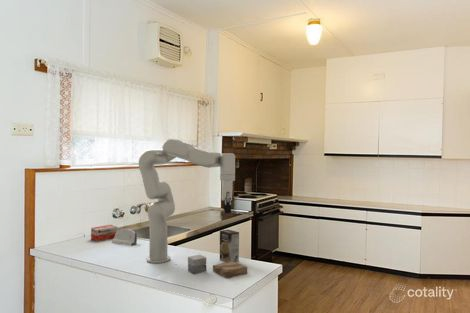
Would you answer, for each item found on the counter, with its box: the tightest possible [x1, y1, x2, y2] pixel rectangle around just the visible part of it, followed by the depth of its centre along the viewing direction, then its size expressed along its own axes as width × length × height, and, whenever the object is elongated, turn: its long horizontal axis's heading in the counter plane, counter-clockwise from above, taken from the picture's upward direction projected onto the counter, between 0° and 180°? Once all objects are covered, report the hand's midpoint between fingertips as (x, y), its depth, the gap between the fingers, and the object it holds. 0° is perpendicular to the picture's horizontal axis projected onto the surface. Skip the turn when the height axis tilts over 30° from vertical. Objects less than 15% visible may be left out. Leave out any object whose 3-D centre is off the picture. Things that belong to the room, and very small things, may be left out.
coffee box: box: [219, 229, 240, 263], centre depth 189 cm, size 9×6×16 cm
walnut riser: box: [212, 261, 248, 279], centre depth 171 cm, size 12×12×3 cm
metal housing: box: [187, 254, 207, 275], centre depth 173 cm, size 6×7×7 cm
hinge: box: [111, 228, 139, 246], centre depth 228 cm, size 17×5×10 cm, turn 65°
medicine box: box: [90, 224, 118, 242], centre depth 240 cm, size 15×8×8 cm, turn 138°
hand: (227, 211), depth 178 cm, fingers open, 9 cm apart
